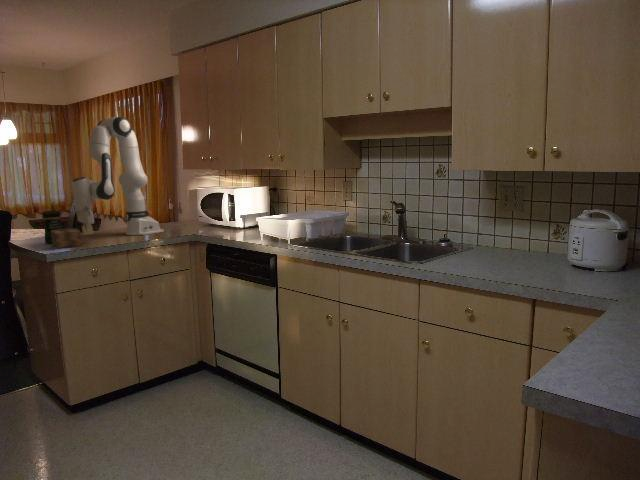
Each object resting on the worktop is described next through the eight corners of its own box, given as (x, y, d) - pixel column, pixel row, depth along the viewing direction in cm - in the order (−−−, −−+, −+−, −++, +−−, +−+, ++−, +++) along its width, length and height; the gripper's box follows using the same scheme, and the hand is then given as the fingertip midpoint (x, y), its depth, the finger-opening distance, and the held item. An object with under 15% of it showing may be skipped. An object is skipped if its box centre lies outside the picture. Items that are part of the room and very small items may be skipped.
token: (92, 233, 289) (90, 224, 288) (93, 233, 287) (92, 225, 286) (82, 234, 286) (81, 225, 285) (84, 235, 284) (82, 226, 283)
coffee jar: (46, 244, 286) (42, 211, 283) (44, 242, 293) (40, 211, 290) (65, 242, 292) (61, 210, 289) (62, 240, 298) (58, 209, 295)
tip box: (76, 243, 286) (74, 227, 284) (81, 246, 276) (79, 229, 275) (52, 246, 278) (50, 230, 277) (57, 249, 269) (55, 232, 267)
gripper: (95, 206, 277) (98, 231, 280) (84, 204, 293) (88, 228, 295) (83, 208, 273) (86, 233, 276) (73, 206, 289) (76, 230, 291)
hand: (87, 230), depth 286 cm, fingers closed on token, 2 cm apart
